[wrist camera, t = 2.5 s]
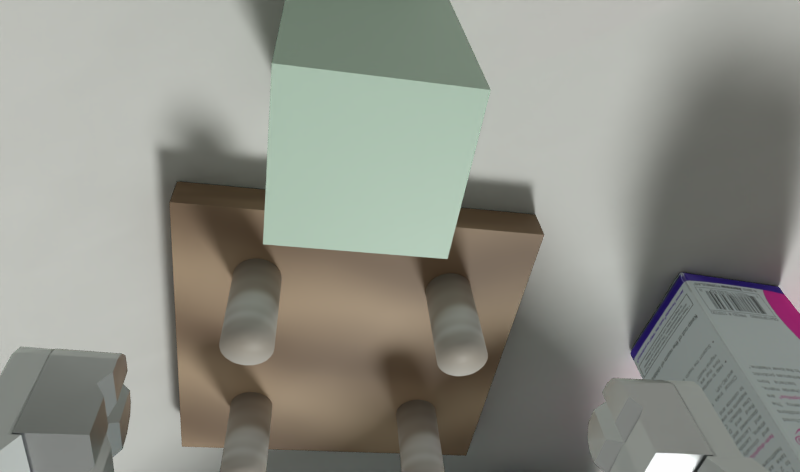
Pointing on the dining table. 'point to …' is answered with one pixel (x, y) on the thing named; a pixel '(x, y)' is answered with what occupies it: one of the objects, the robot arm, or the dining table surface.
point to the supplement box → (733, 360)
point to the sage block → (371, 126)
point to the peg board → (337, 334)
